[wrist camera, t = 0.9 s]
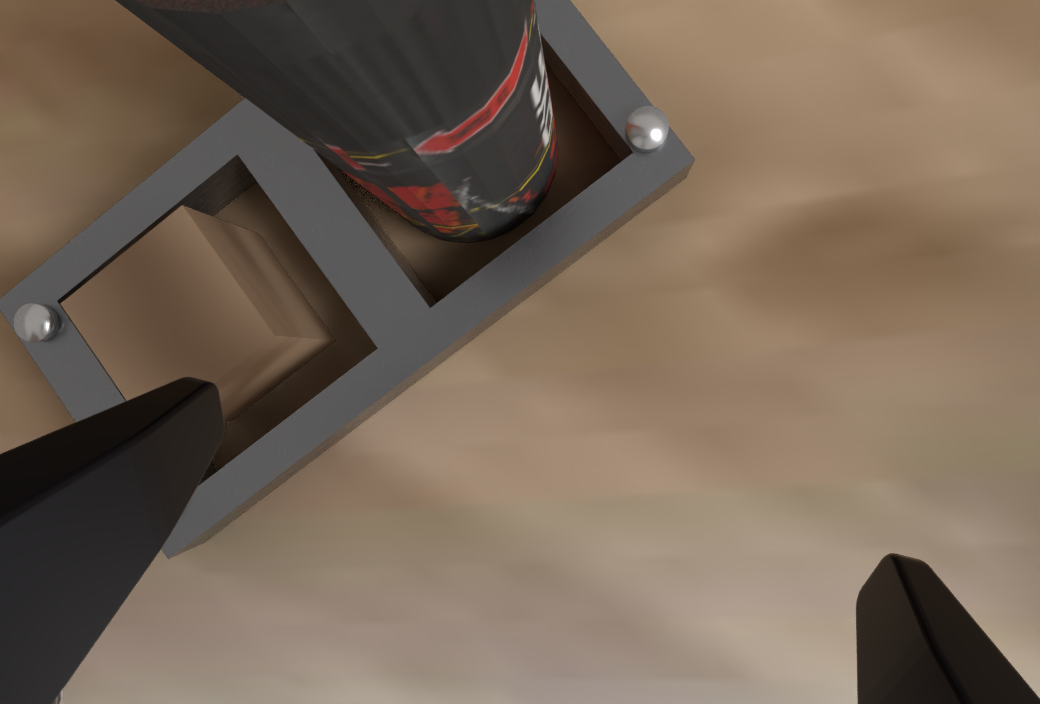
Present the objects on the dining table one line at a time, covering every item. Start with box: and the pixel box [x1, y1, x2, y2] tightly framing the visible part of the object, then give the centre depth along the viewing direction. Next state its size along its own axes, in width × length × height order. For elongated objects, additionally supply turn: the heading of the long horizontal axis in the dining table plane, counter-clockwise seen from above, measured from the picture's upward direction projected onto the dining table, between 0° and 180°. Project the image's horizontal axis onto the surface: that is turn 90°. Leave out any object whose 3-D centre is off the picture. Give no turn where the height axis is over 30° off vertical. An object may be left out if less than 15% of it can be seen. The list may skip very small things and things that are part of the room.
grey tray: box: [0, 0, 695, 559], centre depth 22 cm, size 20×10×2 cm, turn 127°
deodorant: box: [116, 0, 559, 243], centre depth 15 cm, size 6×6×15 cm
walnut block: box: [61, 205, 336, 421], centre depth 21 cm, size 4×4×4 cm
